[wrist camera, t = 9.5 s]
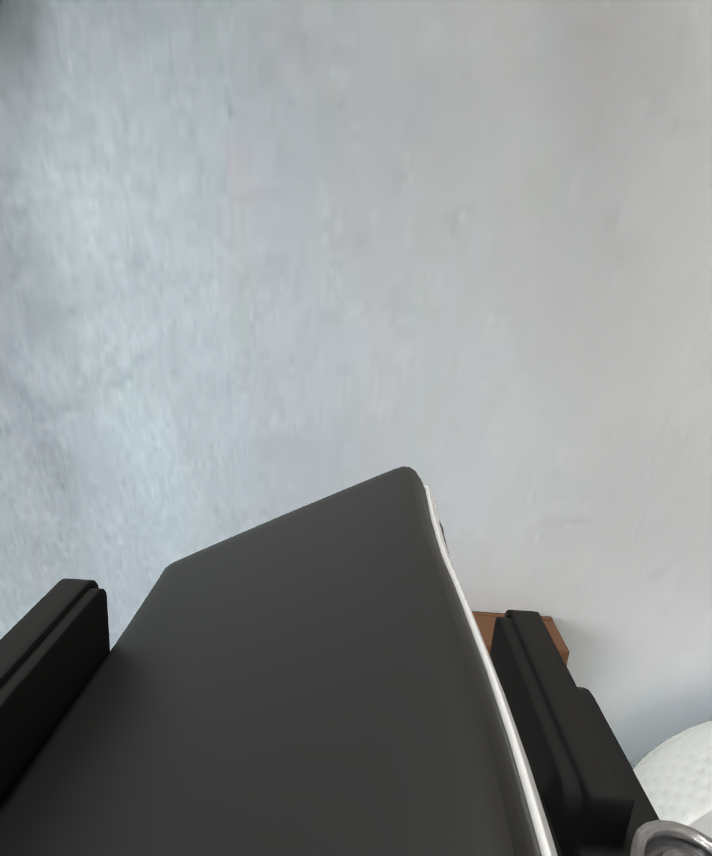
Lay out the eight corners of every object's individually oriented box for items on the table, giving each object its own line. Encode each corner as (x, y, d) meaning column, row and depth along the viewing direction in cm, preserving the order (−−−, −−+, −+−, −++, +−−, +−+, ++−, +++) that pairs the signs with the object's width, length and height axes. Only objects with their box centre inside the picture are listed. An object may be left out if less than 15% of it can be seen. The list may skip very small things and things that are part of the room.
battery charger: (229, 682, 14) (-199, 1982, 3) (156, 562, 14) (-740, 1811, 3) (480, 585, 14) (972, 1917, 3) (420, 451, 13) (781, 1622, 2)
